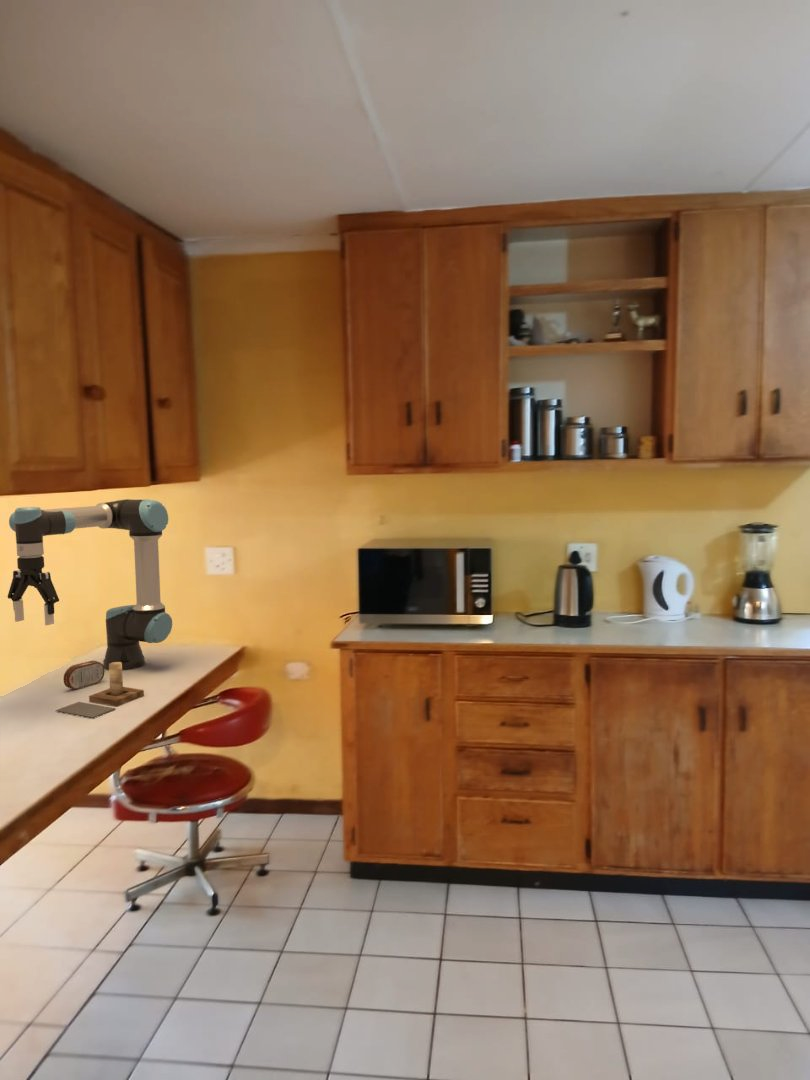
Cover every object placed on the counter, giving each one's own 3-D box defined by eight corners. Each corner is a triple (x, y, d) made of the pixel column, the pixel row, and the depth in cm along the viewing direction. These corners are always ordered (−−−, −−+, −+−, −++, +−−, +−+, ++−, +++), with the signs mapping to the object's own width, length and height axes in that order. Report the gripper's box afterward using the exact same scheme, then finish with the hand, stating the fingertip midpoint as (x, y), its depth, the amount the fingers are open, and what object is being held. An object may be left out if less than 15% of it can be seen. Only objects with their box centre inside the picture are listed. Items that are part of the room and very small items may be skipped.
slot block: (117, 691, 252) (117, 685, 252) (143, 695, 247) (143, 690, 247) (89, 701, 241) (89, 695, 241) (116, 706, 236) (116, 700, 236)
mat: (78, 703, 240) (78, 701, 239) (115, 709, 233) (115, 708, 233) (55, 711, 231) (55, 710, 231) (92, 718, 225) (92, 717, 225)
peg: (117, 696, 247) (115, 661, 245) (126, 697, 245) (124, 662, 244) (107, 699, 243) (106, 664, 242) (116, 701, 241) (115, 665, 240)
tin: (101, 680, 265) (100, 657, 264) (106, 681, 264) (105, 658, 263) (63, 691, 252) (62, 667, 252) (69, 692, 251) (67, 668, 250)
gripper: (-8, 555, 231) (-4, 621, 234) (48, 559, 221) (52, 628, 223) (13, 553, 238) (17, 617, 240) (68, 556, 228) (72, 623, 230)
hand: (34, 622), depth 232 cm, fingers open, 13 cm apart
